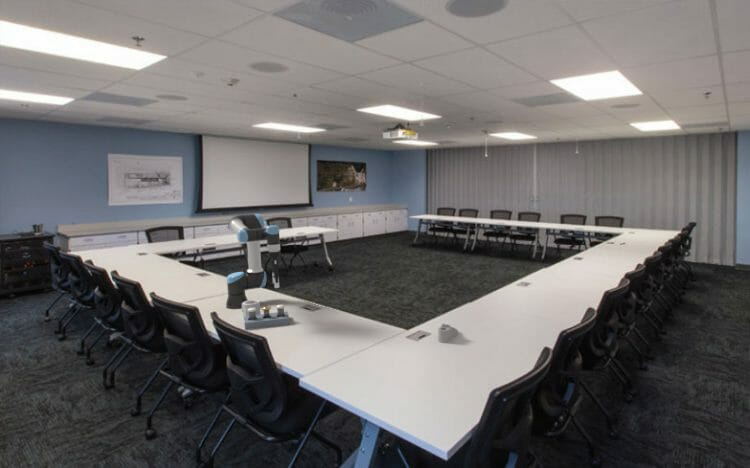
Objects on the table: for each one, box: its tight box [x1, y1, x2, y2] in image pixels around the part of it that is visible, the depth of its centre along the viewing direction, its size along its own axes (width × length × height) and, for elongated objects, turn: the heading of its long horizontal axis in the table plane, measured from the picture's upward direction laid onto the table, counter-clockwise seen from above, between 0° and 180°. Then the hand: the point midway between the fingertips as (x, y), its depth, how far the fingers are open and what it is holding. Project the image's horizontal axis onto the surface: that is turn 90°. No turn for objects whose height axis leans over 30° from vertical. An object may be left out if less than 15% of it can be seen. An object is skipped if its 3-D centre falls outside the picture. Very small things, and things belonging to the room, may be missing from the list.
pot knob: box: [261, 305, 271, 318], centre depth 254 cm, size 5×5×6 cm
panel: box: [244, 311, 291, 331], centre depth 255 cm, size 14×26×4 cm, turn 106°
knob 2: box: [276, 304, 286, 317], centre depth 257 cm, size 5×5×6 cm
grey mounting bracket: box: [437, 323, 459, 344], centre depth 225 cm, size 6×18×8 cm, turn 148°
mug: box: [241, 299, 261, 319], centre depth 269 cm, size 14×11×10 cm
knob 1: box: [248, 308, 256, 320], centre depth 252 cm, size 5×5×6 cm
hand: (276, 285), depth 254 cm, fingers open, 13 cm apart
